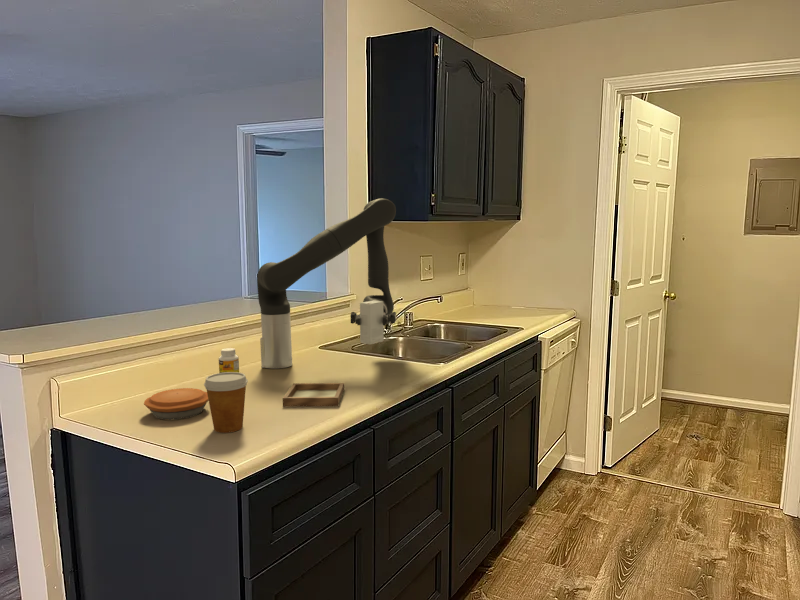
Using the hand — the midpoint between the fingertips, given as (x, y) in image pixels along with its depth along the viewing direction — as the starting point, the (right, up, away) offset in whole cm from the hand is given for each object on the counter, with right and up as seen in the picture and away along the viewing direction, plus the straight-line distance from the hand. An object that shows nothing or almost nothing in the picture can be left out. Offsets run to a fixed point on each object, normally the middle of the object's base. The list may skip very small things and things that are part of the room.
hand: (371, 321), depth 179 cm
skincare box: (0, -6, +3) cm, 7 cm away
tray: (-14, -20, -16) cm, 29 cm away
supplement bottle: (-41, -18, 0) cm, 45 cm away
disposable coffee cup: (-31, -23, -38) cm, 54 cm away
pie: (-46, -22, -26) cm, 57 cm away
